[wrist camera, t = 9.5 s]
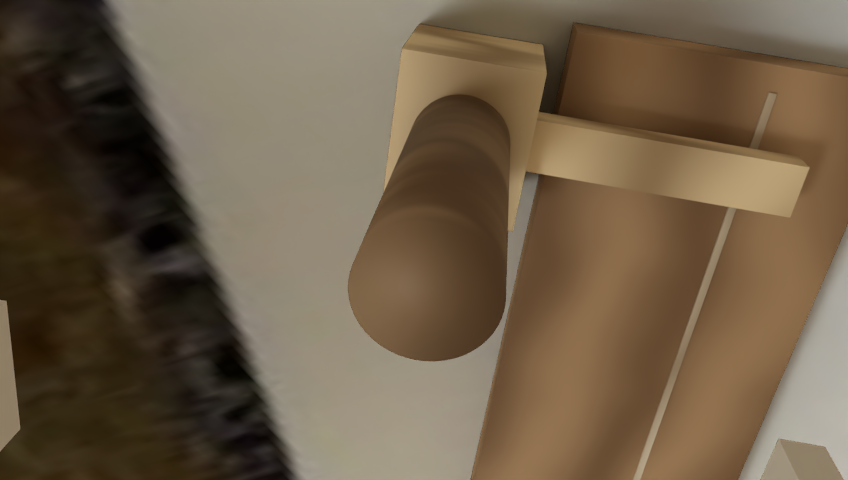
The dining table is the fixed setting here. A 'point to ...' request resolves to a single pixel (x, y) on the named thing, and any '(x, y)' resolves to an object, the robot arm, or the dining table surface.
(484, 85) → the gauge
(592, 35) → the board
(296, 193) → the dining table surface
